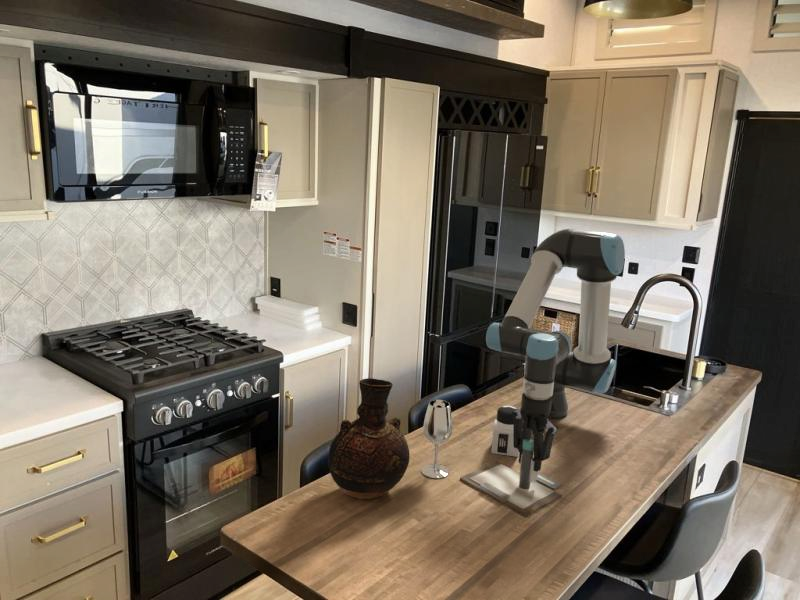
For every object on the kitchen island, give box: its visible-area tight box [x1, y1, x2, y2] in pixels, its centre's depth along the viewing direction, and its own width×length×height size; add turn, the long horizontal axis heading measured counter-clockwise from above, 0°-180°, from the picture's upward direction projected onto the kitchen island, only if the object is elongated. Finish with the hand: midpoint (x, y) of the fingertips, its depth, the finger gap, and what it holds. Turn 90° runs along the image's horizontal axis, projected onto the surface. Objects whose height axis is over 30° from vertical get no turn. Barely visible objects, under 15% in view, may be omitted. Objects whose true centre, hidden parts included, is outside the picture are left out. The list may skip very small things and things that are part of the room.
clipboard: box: [459, 461, 563, 518], centre depth 169 cm, size 15×22×2 cm
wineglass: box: [420, 399, 453, 479], centre depth 174 cm, size 8×8×20 cm
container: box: [491, 405, 519, 458], centre depth 189 cm, size 8×8×13 cm
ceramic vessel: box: [327, 377, 410, 500], centre depth 161 cm, size 21×18×30 cm
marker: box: [519, 438, 534, 489], centre depth 168 cm, size 3×3×13 cm
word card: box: [536, 472, 563, 491], centre depth 174 cm, size 4×9×1 cm, turn 41°
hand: (528, 478), depth 169 cm, fingers closed on marker, 2 cm apart
